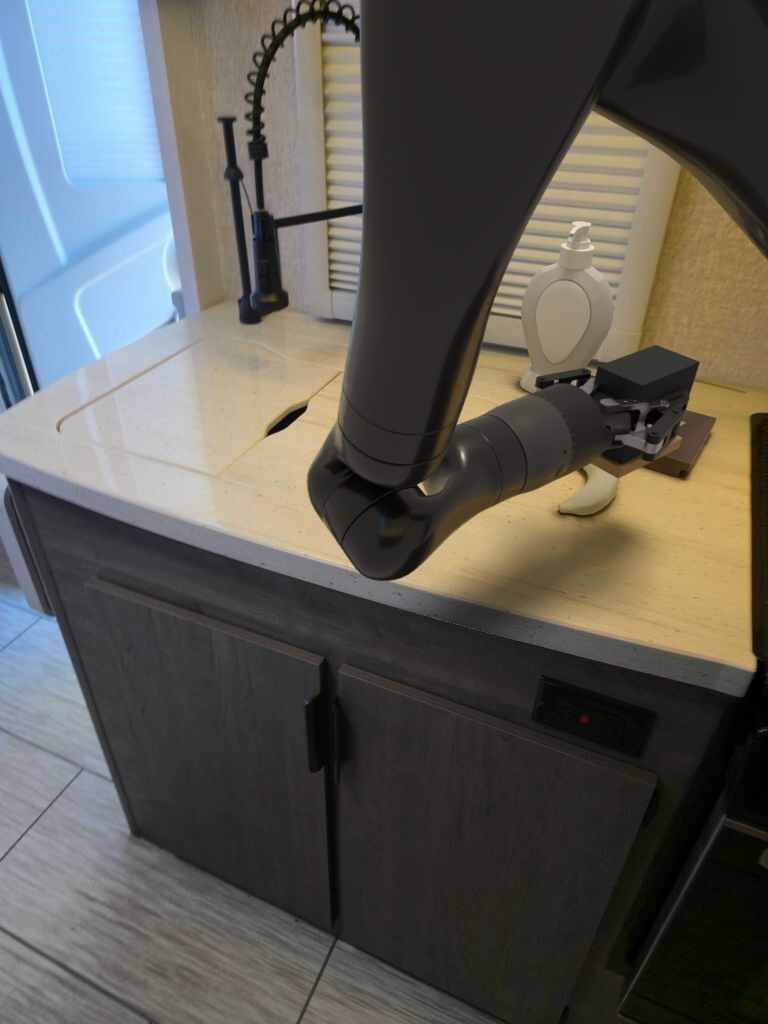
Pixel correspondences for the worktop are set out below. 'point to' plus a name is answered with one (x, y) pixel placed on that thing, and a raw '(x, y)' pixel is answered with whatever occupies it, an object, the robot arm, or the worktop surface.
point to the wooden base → (685, 444)
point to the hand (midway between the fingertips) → (657, 388)
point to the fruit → (592, 493)
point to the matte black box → (642, 395)
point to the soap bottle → (566, 311)
